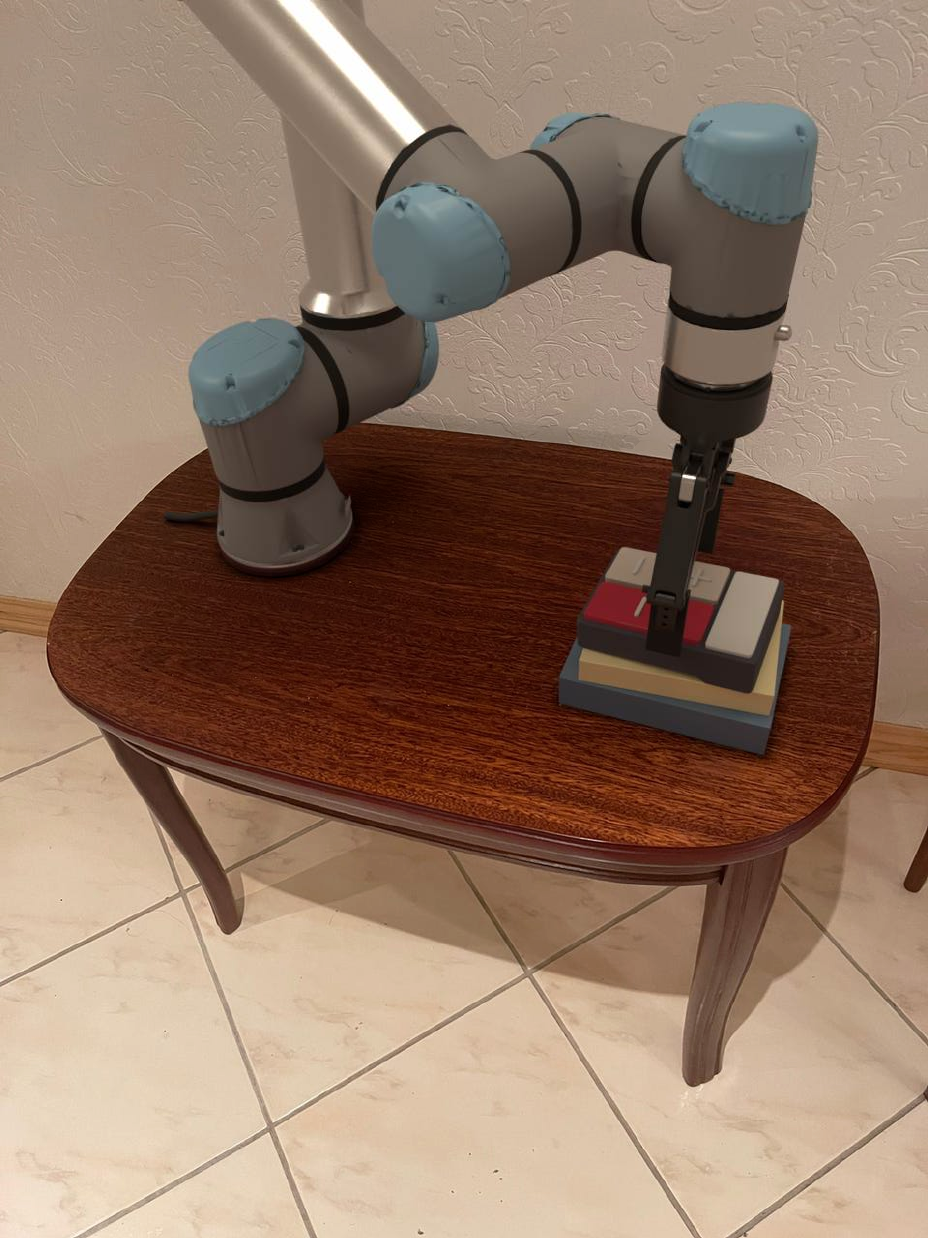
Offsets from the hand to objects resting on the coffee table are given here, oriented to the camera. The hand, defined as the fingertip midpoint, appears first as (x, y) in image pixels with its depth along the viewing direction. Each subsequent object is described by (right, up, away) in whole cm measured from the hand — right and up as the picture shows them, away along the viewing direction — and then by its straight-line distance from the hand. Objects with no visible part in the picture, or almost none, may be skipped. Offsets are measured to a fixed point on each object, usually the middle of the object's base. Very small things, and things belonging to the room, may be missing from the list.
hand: (681, 596), depth 75 cm
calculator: (0, -3, +3) cm, 4 cm away
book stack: (+1, -7, +6) cm, 10 cm away
